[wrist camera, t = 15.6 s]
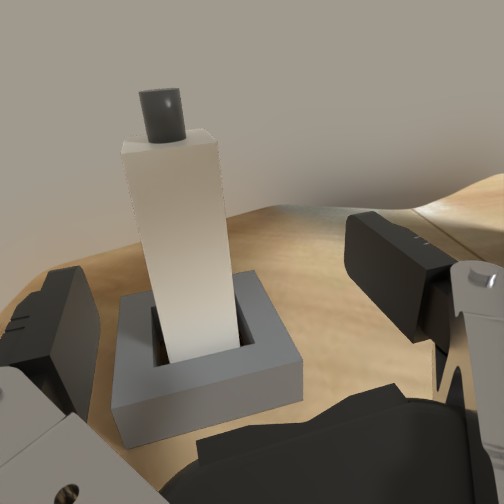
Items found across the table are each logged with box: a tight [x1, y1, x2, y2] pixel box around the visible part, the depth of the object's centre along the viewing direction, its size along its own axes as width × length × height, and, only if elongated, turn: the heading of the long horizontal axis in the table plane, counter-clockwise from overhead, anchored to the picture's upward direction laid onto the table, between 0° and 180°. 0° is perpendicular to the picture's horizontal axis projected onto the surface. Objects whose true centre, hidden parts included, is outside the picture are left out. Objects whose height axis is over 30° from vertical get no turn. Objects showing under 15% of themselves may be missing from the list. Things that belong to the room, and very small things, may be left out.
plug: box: [120, 88, 240, 364], centre depth 23 cm, size 5×5×18 cm
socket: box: [111, 270, 303, 450], centre depth 26 cm, size 11×11×4 cm
